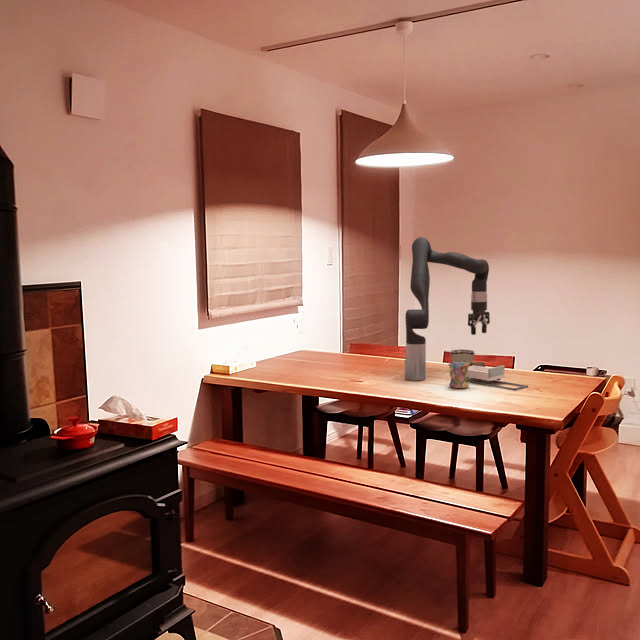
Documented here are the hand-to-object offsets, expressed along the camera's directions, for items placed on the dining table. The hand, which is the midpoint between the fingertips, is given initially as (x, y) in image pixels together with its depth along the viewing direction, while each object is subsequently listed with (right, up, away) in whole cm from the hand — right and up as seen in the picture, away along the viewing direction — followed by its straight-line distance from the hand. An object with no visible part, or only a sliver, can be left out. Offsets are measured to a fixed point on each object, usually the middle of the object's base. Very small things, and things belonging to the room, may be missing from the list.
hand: (478, 333), depth 313 cm
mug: (-16, -24, -27) cm, 40 cm away
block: (0, -20, +2) cm, 20 cm away
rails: (+1, -22, -20) cm, 30 cm away
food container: (-5, -19, +16) cm, 25 cm away
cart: (-3, -21, -16) cm, 27 cm away
